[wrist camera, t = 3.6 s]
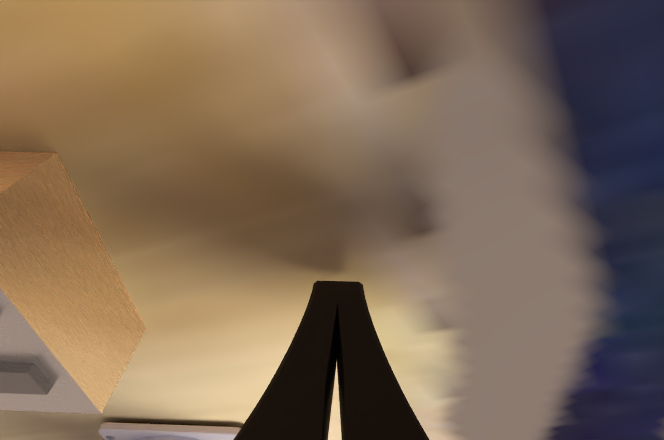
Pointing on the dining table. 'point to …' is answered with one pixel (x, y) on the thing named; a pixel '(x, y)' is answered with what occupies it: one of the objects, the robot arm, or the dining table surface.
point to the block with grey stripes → (57, 295)
